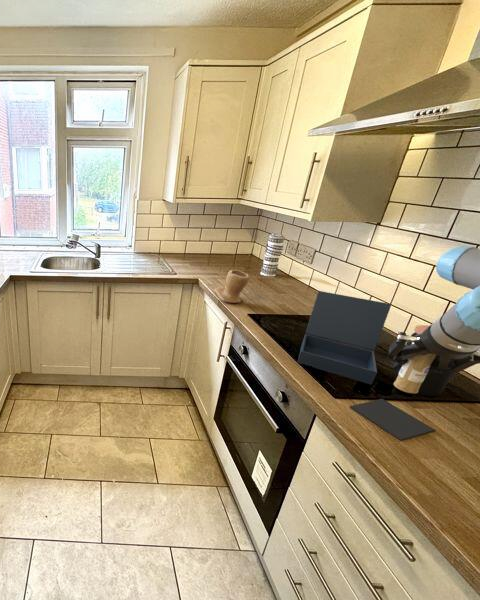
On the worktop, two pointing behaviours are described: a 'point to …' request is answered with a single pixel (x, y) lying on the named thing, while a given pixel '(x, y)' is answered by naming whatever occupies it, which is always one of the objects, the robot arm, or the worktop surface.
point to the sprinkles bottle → (413, 373)
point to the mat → (392, 419)
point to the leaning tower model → (272, 255)
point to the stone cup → (233, 286)
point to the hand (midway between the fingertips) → (409, 367)
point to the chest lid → (348, 319)
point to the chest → (338, 358)
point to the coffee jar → (434, 380)
